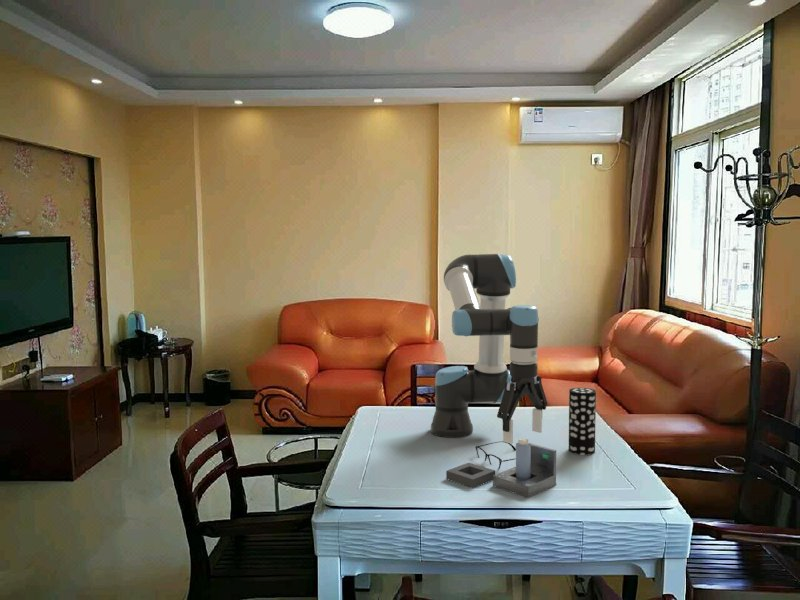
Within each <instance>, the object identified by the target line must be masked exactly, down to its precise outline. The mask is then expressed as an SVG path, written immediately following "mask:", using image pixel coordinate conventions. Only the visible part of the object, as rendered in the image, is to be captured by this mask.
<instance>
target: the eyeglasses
mask: <svg viewBox="0 0 800 600" xmlns="http://www.w3.org/2000/svg"><path fill="white" fill-rule="evenodd" d="M496 443H499V441H496V442H490V443H485V444H481V445H475V446H474V448H475V451H476V455H477V458H479V459H480V458H481V457H480V455H479V451H478V449H479V450H481V451H482V452H483V454H485V455H484V457H485V458H484V462H487V460H488V462H489V465H491V466H493V465H492V462H491V457H494V458H495V459H497V460H498V461H499V462H498V463H499V464H498V465H499V466H498V468H497V469H498V470H499V469H500V468H501V465H502V463H505V462H509V461H516V457H515V458H510V459H504V460H503V459H501V458H500V457H498V456H497V455H495V454H491V453H489V454H488V453H487V452H486V451H485V450H484V449H483V448H481V447H484V446H487V445H488V446H489V445H492V444H496ZM500 443H505V444H508V445H509V446H510V447H511V448H512V450H513V451H514V452H516V446H514V445H513V443H512V444H510V443H506V442H503V440H501V441H500ZM490 456H491V457H490Z"/></svg>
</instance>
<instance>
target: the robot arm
mask: <svg viewBox="0 0 800 600" xmlns="http://www.w3.org/2000/svg"><path fill="white" fill-rule="evenodd" d="M443 282H444V286H445V288H446V289H447V291H448V292H449V293H450V296H451V300H452V303H453V307H454V310H453V312H452V313H451V327H452V328H451V330H452V333H453V335H455V336H458V337H459V336H460V337H461V336H463V337H469V336H470V337H475V336H476V337H477V336H479V337H478V361H477V362H476V363H475V364H474V365H473V370H469V369H468V366H465V365H455V366H454V365H452V366H447V367H443V368H441V369H439V370H437V372H436V373H435V382H434V385H435V411H434V415H433V418H432V422H431V424H430V433H431V434H433V435H434V436H438V437H444V438H462V437H467V436H470V435H472V434H473V433H474V432H473V430H474V427H473V423H472V421H471V420H472V419H471V417H470V413H469V404H482V403H483V404H487V403H488V404H489V403H491V404H492V403H493V404H496V403H500V405H499V407H498V410H497V411H498V412H497V415H496V418H498V419H502V431H503V432H502V443H504V442H506V443H505V444H508V443H510V444H512V445H513V443H514V419H512V418H513V415H514V413H515V411H516V408H517V406H518V404H519V402H520V400H521V399H523V397H526V396H527V397H528V398H529V400H530V402H531V403H532V405H533V408H532V411H531V414H532V422H531V423H532V425H531V426H532V429H531V431H532V432H535V433H538V434H539V433H540V434H541V433H542V432H543V431H542V430H543V428H542V427H543V410H545V411H546V409H547V406H548V400H547V397H546V394H545V391H544V386H543V383H542V376H541V375H538V363H537V361H538V348H539V346H538V343H539V342H538V341H539V338H538V337H539V321H540V319H539V311H538V310H539V309H538V307H536V306H534V305H527V304H523V305H522V304H521V305H520V304H519V305H518V304H517V305H513V306H511V307H508V308H506V299H507V298H508V297H509V296H510V295H511V289H512V290H513V289H515V287H516V284H517V274H516V268H515V263H514V261H513V258H512V257H511V256H510V255H509V254H500V253H486V254H481V253H480V254H479V253H478V254H464V255H461V256H458V257H456V258H455V259H454V260H452V261H451V262H450V263H449V264H448V265H447V267H446V268H445V270H444V273H443ZM475 289H476V290H475ZM477 295H478V296H479V297H480V302H479V299H478V296H477ZM505 336H509V342H510V343H509V360H510V363H509V369H508V367H507V365H506V364H505V363H504V362H503V361H504V343H505V342H504V340H505Z"/></svg>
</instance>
